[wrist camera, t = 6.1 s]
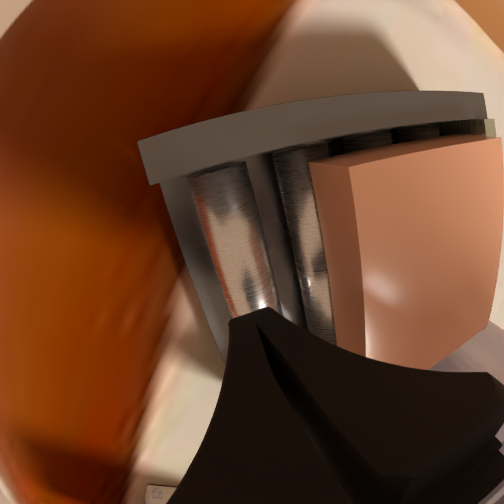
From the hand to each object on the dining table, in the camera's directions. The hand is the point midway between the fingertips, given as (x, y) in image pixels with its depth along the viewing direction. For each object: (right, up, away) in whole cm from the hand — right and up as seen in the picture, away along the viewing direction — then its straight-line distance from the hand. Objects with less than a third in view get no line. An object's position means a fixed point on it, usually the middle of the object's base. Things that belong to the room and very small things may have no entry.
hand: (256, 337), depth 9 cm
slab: (+6, +3, +2) cm, 7 cm away
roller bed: (+4, +3, +5) cm, 7 cm away
